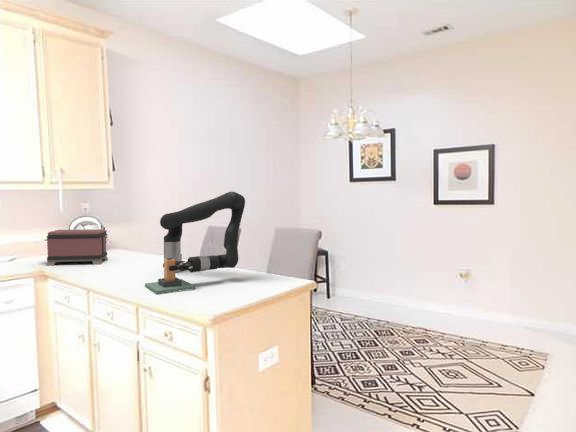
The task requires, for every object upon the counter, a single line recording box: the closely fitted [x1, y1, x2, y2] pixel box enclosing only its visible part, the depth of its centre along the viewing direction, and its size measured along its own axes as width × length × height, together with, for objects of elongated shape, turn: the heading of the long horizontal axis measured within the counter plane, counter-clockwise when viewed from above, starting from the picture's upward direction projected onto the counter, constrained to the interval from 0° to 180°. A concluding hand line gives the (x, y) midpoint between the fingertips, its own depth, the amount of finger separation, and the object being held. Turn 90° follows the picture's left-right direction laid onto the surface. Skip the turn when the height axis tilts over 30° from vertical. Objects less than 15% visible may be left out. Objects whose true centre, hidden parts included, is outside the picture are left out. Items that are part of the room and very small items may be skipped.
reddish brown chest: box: [44, 228, 109, 267], centre depth 255 cm, size 19×34×21 cm, turn 101°
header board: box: [144, 276, 196, 295], centre depth 189 cm, size 18×18×4 cm
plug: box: [163, 258, 176, 281], centre depth 189 cm, size 4×4×13 cm
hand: (166, 267), depth 188 cm, fingers open, 8 cm apart
